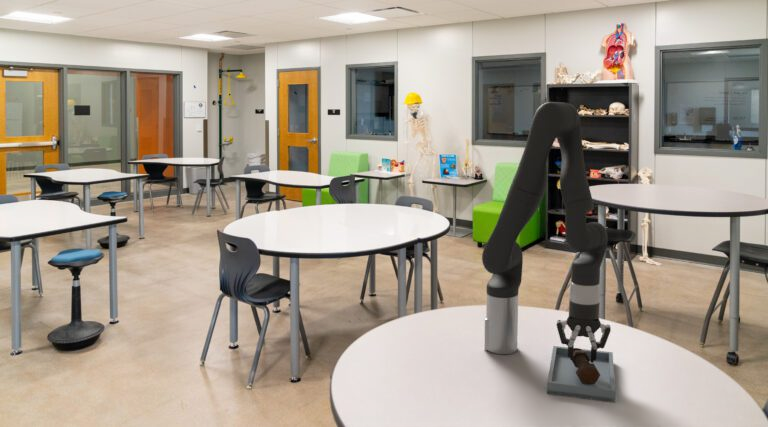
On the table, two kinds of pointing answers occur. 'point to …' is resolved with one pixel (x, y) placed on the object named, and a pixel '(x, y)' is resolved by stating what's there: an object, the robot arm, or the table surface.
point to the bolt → (585, 367)
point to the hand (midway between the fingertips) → (581, 359)
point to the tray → (569, 384)
